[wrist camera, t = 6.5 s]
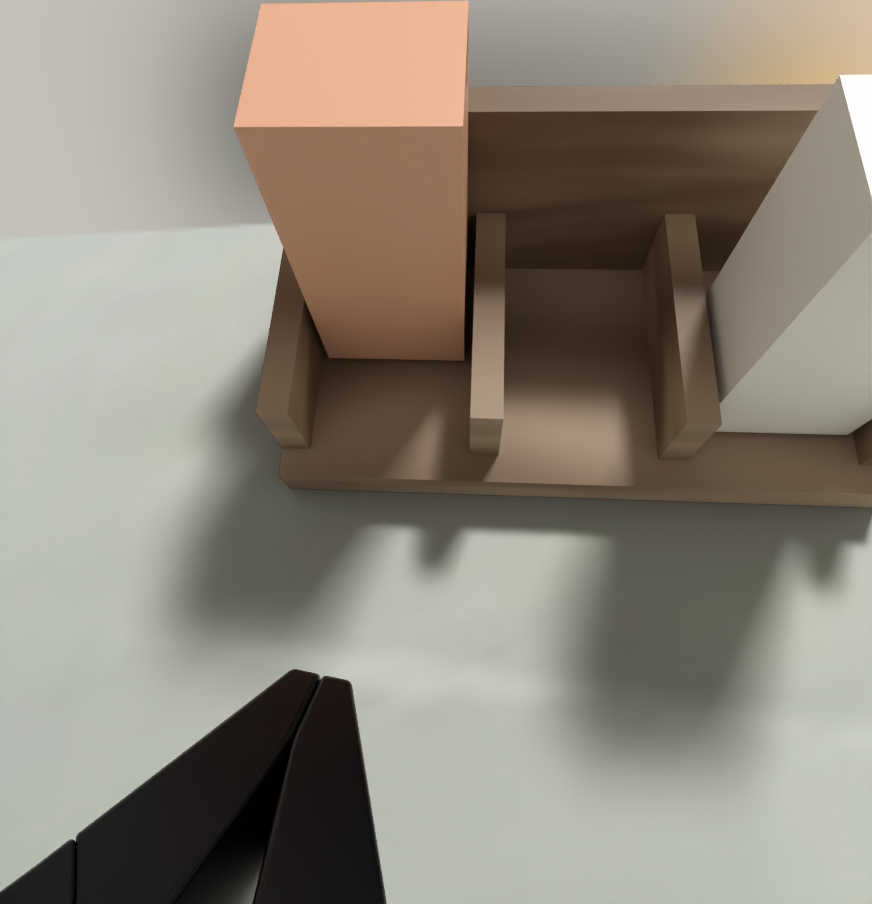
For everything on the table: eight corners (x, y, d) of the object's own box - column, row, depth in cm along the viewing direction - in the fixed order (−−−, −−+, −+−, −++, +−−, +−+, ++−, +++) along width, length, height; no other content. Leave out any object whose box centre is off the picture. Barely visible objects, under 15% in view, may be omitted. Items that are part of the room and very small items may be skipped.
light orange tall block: (464, 360, 22) (463, 126, 13) (328, 357, 23) (233, 127, 13) (467, 270, 24) (468, 1, 15) (340, 268, 24) (261, 3, 15)
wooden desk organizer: (874, 507, 21) (1113, 401, 14) (290, 488, 23) (195, 380, 15) (824, 275, 25) (991, 83, 17) (320, 269, 26) (258, 88, 18)
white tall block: (847, 435, 21) (1159, 226, 11) (695, 430, 21) (879, 224, 12) (826, 332, 22) (1087, 73, 13) (684, 330, 22) (839, 75, 13)
